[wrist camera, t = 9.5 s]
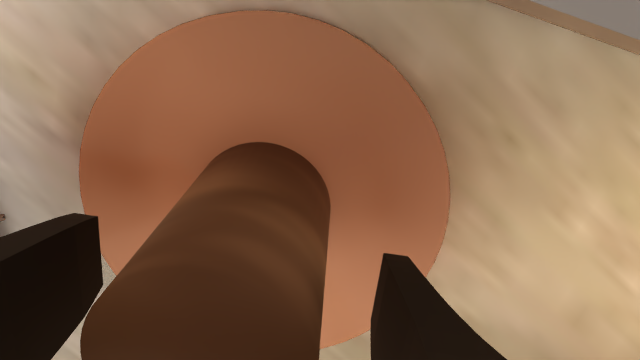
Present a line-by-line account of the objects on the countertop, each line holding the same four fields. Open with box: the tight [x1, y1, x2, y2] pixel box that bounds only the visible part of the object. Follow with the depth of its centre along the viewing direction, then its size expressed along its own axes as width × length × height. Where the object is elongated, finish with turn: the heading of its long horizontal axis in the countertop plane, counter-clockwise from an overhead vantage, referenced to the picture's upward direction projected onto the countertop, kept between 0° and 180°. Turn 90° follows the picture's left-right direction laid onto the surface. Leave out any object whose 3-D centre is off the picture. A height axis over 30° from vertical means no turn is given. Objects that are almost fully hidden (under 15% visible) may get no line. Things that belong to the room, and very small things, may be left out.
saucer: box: [79, 10, 450, 349], centre depth 15 cm, size 12×12×1 cm
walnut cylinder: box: [80, 142, 331, 360], centre depth 12 cm, size 4×4×7 cm
